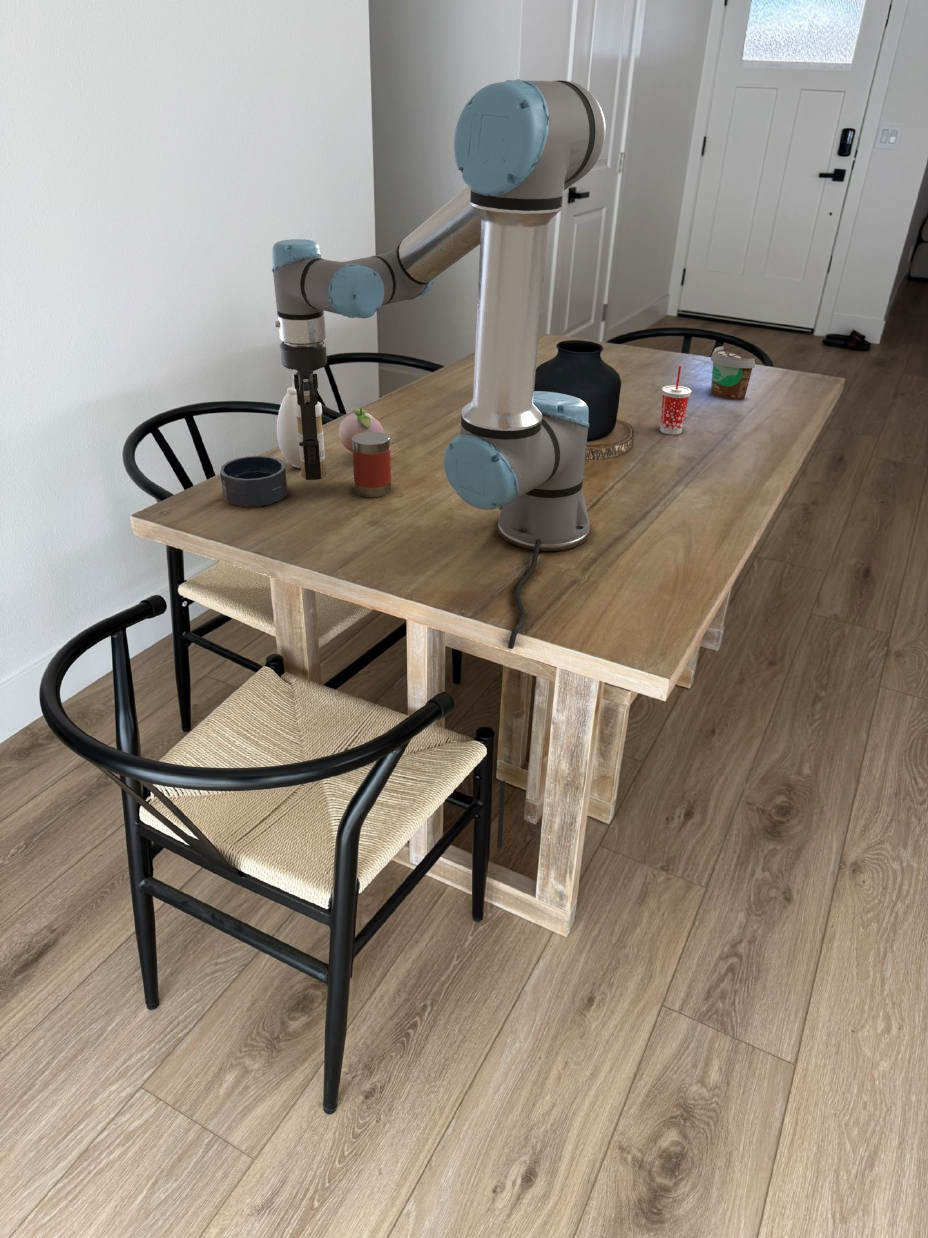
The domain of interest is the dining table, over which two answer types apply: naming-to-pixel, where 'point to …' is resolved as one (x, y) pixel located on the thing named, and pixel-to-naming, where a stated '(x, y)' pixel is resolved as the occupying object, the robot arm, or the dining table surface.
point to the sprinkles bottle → (319, 436)
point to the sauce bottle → (289, 428)
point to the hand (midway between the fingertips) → (313, 472)
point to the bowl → (254, 481)
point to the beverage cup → (674, 407)
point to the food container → (730, 374)
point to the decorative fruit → (357, 426)
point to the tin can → (371, 464)
